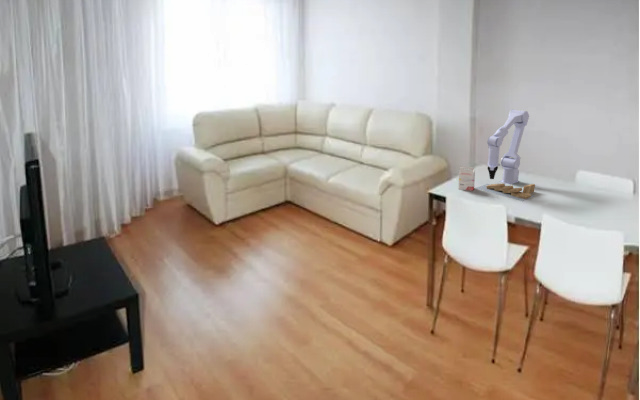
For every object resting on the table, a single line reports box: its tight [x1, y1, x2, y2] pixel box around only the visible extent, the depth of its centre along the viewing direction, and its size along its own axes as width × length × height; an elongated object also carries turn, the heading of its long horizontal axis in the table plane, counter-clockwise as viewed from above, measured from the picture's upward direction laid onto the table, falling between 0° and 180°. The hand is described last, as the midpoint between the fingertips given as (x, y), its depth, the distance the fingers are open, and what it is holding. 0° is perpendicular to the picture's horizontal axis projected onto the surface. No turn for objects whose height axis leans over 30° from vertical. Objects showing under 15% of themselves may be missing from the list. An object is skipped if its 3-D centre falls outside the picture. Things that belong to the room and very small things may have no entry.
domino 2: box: [494, 184, 514, 191], centre depth 278 cm, size 2×5×9 cm
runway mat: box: [475, 183, 535, 202], centre depth 278 cm, size 12×31×1 cm, turn 35°
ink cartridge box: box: [457, 166, 476, 192], centre depth 284 cm, size 9×5×15 cm, turn 62°
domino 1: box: [486, 182, 506, 189], centre depth 282 cm, size 2×5×9 cm
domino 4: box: [511, 191, 532, 200], centre depth 270 cm, size 2×5×9 cm
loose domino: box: [522, 183, 536, 194], centre depth 273 cm, size 2×5×9 cm
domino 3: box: [503, 187, 523, 193], centre depth 274 cm, size 2×5×9 cm
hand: (491, 178), depth 283 cm, fingers closed
